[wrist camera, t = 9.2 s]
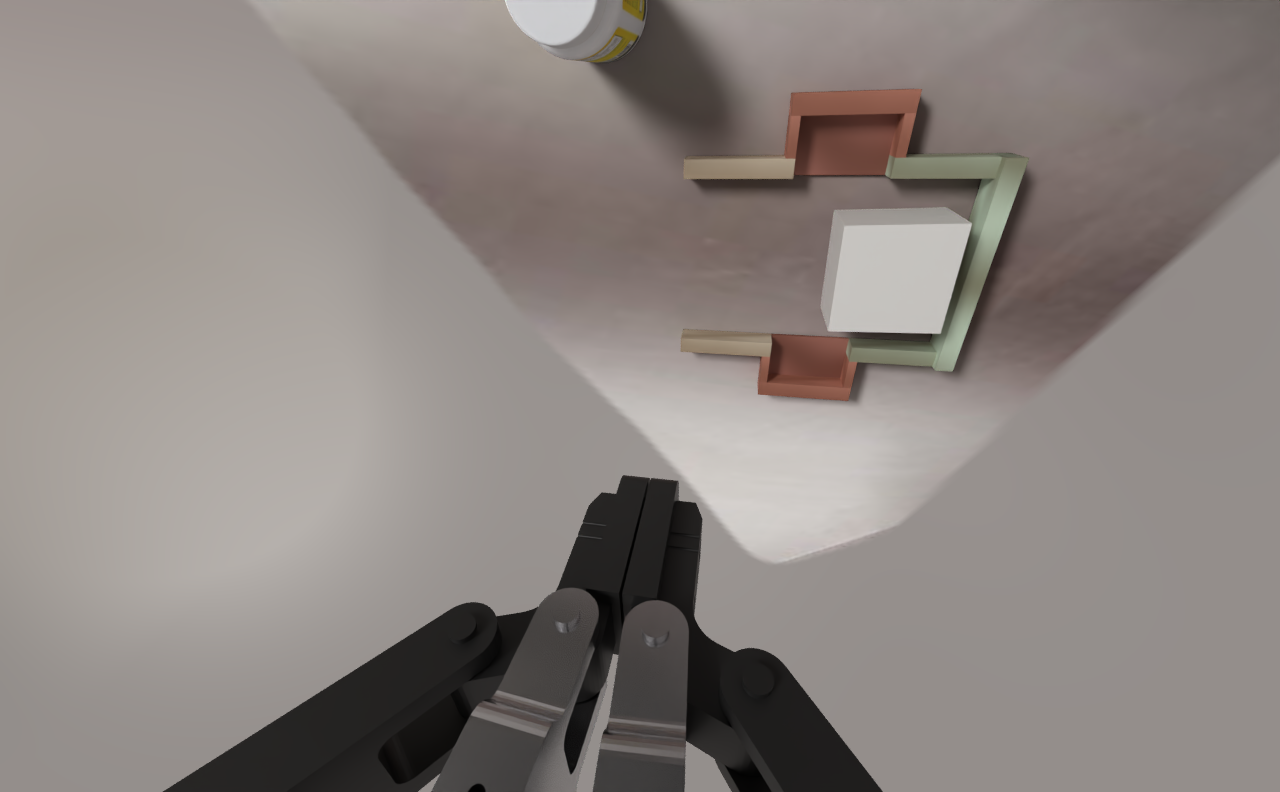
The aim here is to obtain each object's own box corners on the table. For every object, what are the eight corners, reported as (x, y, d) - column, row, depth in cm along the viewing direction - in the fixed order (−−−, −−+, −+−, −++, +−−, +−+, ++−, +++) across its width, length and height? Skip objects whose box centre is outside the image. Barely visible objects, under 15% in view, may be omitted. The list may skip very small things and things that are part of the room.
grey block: (833, 209, 29) (844, 225, 25) (945, 206, 28) (972, 223, 24) (819, 305, 32) (828, 331, 29) (920, 306, 31) (940, 333, 27)
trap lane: (687, 95, 27) (683, 97, 25) (1034, 85, 24) (1055, 85, 22) (682, 378, 37) (679, 392, 35) (928, 395, 34) (938, 411, 32)
